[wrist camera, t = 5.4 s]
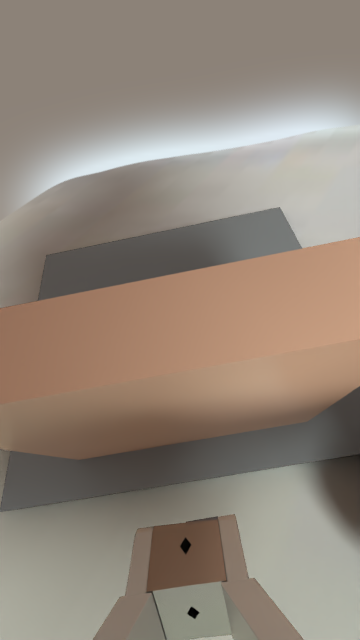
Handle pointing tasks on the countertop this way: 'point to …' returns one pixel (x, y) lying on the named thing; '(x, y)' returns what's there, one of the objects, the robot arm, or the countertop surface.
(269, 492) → the countertop surface
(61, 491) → the mat
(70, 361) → the tile
